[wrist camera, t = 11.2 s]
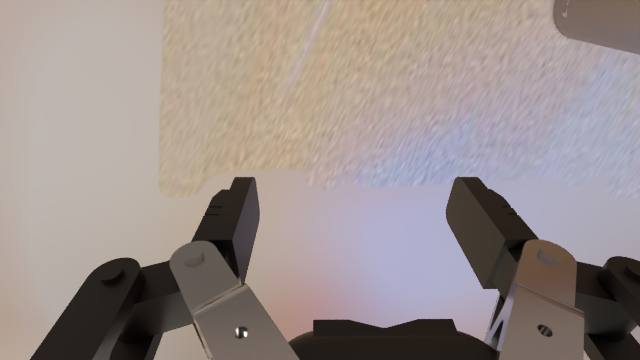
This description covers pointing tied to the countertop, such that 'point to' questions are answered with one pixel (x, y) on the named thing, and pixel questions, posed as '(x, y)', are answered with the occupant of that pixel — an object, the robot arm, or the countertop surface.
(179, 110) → the countertop surface
